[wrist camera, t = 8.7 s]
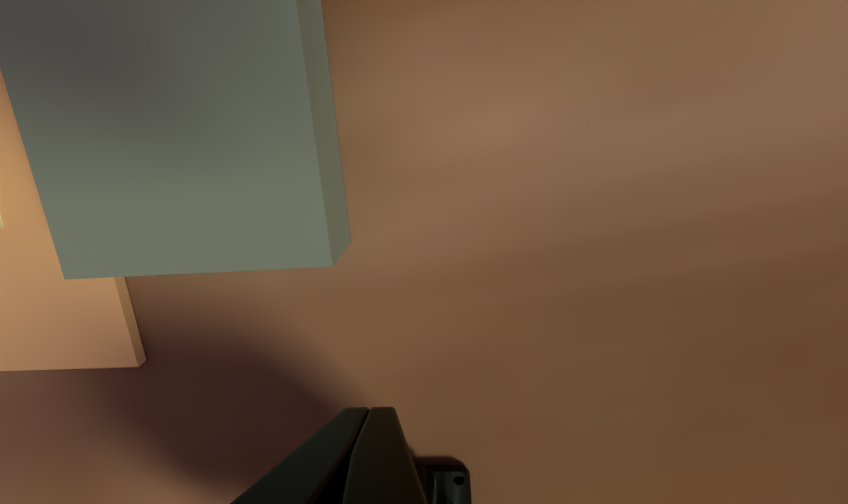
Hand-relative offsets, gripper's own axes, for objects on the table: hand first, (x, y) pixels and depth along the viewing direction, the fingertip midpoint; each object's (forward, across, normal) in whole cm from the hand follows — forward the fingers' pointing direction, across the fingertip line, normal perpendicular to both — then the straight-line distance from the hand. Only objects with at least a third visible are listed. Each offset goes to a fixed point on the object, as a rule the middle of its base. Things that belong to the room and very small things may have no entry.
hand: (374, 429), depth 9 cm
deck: (+12, +8, -6) cm, 16 cm away
